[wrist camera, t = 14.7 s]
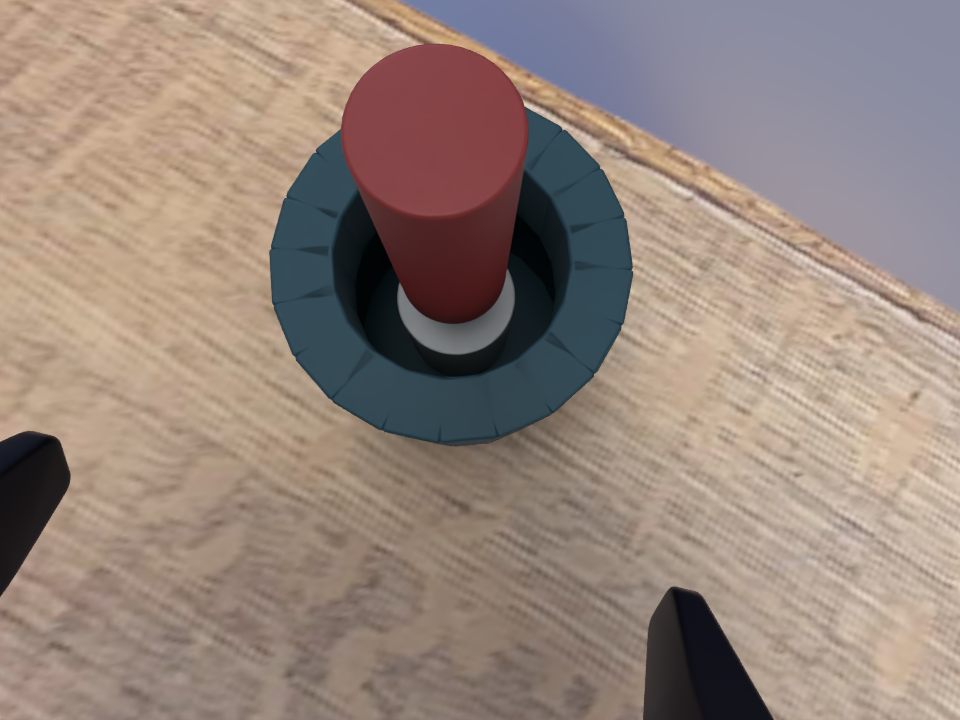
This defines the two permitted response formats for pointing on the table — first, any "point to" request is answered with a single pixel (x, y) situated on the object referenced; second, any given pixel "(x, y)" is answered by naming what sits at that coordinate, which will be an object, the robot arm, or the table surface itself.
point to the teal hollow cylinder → (380, 330)
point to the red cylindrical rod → (442, 193)
